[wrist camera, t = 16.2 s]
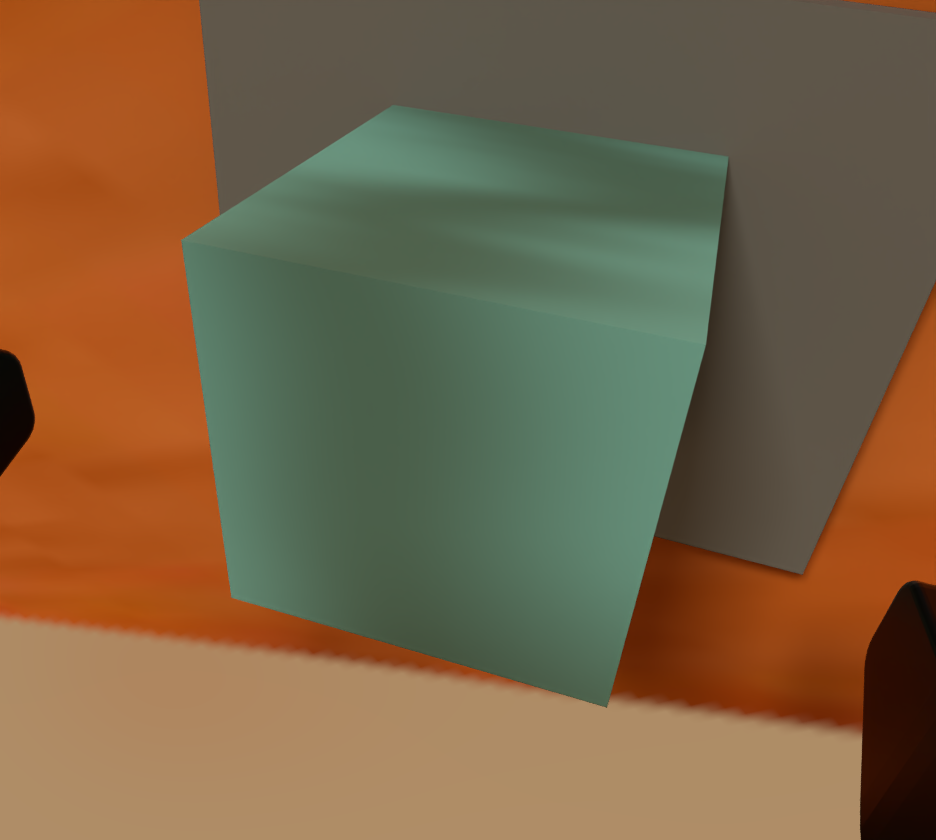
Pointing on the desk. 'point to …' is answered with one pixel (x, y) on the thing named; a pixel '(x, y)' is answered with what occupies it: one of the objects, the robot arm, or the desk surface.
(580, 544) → the block
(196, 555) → the desk surface
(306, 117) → the mat
